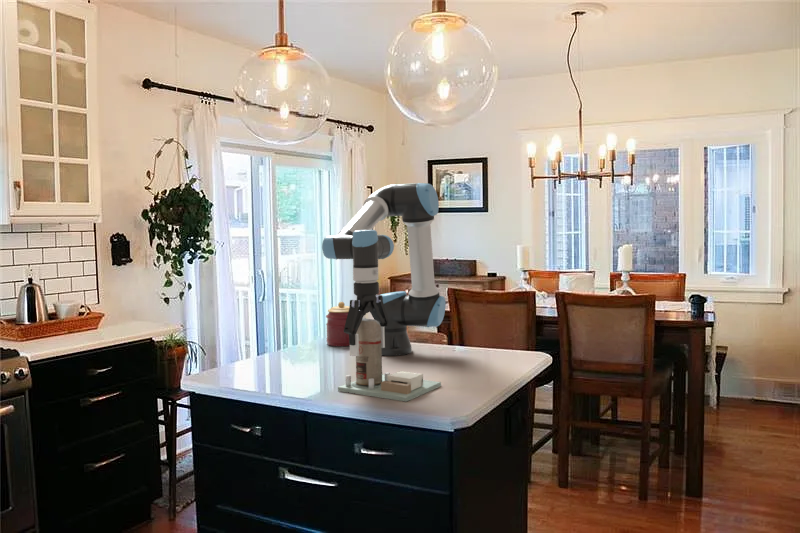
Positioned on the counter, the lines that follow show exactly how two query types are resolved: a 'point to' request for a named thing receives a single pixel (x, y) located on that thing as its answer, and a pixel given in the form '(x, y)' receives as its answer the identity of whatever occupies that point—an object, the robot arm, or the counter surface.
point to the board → (391, 394)
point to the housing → (407, 378)
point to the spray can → (369, 352)
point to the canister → (337, 325)
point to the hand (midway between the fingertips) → (367, 351)
